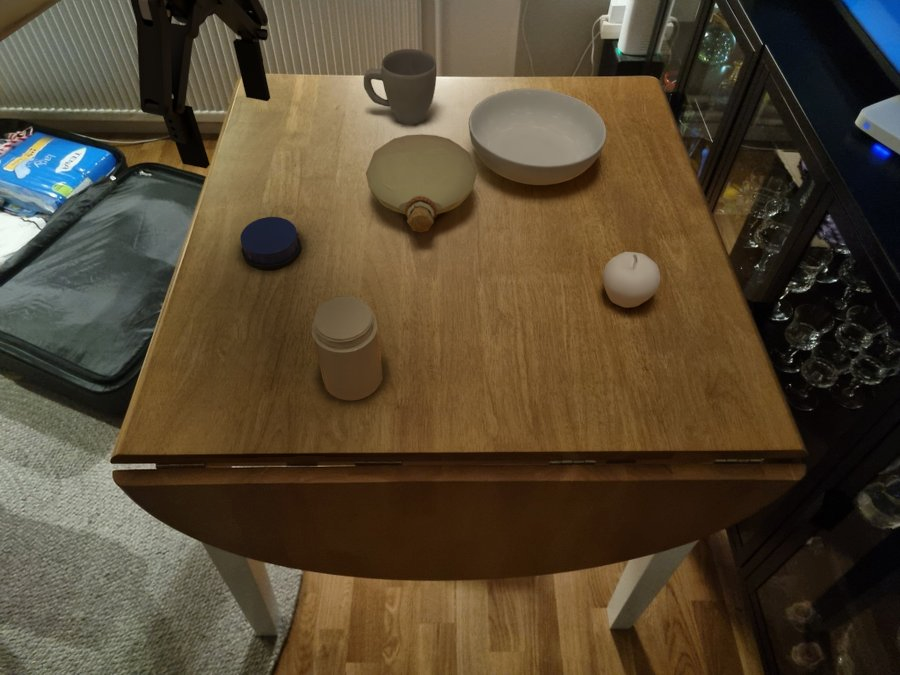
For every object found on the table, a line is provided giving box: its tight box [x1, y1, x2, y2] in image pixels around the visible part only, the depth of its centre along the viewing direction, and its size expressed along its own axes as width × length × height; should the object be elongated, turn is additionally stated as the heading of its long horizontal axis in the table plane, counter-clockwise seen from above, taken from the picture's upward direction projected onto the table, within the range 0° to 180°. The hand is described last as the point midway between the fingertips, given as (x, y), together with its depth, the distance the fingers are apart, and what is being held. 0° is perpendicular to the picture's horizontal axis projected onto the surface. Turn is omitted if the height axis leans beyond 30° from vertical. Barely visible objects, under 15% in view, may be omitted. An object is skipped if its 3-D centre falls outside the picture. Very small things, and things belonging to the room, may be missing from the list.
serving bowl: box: [468, 87, 608, 186], centre depth 101 cm, size 21×21×7 cm
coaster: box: [241, 235, 302, 271], centre depth 89 cm, size 8×8×1 cm
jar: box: [311, 295, 384, 401], centre depth 72 cm, size 7×7×11 cm
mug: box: [363, 48, 437, 126], centre depth 107 cm, size 12×9×10 cm
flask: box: [365, 133, 478, 233], centre depth 92 cm, size 9×16×18 cm
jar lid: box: [239, 216, 300, 265], centre depth 88 cm, size 8×8×2 cm
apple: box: [602, 251, 661, 309], centre depth 82 cm, size 7×7×8 cm
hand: (229, 129), depth 71 cm, fingers open, 13 cm apart
